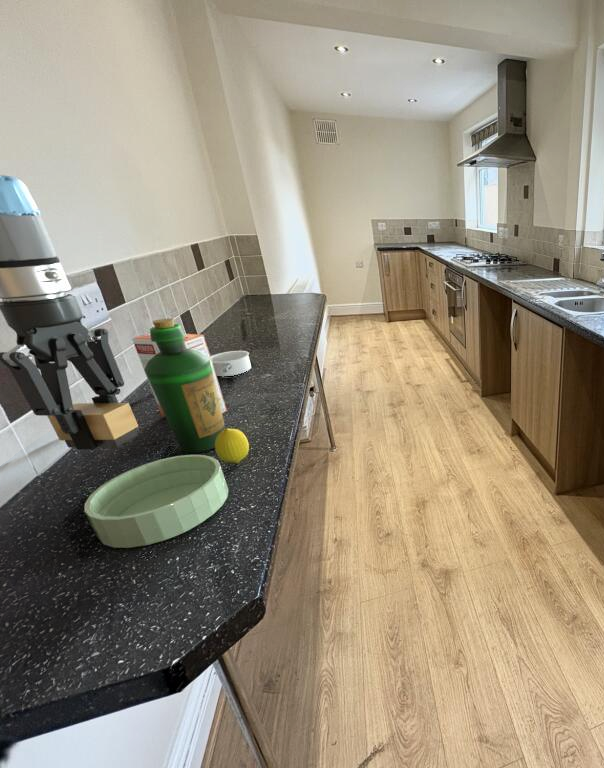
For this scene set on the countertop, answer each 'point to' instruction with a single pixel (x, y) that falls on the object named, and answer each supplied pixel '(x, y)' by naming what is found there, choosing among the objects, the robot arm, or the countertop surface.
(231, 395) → the countertop surface
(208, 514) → the bowl
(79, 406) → the wooden block
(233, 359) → the saucepan
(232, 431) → the lemon
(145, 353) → the cracker box
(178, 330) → the bottle
